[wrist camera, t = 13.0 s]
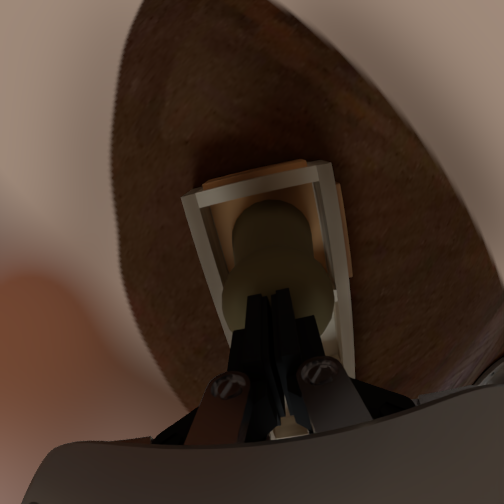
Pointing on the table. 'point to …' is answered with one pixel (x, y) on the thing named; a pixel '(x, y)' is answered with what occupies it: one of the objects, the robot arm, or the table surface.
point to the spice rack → (323, 237)
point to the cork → (276, 264)
